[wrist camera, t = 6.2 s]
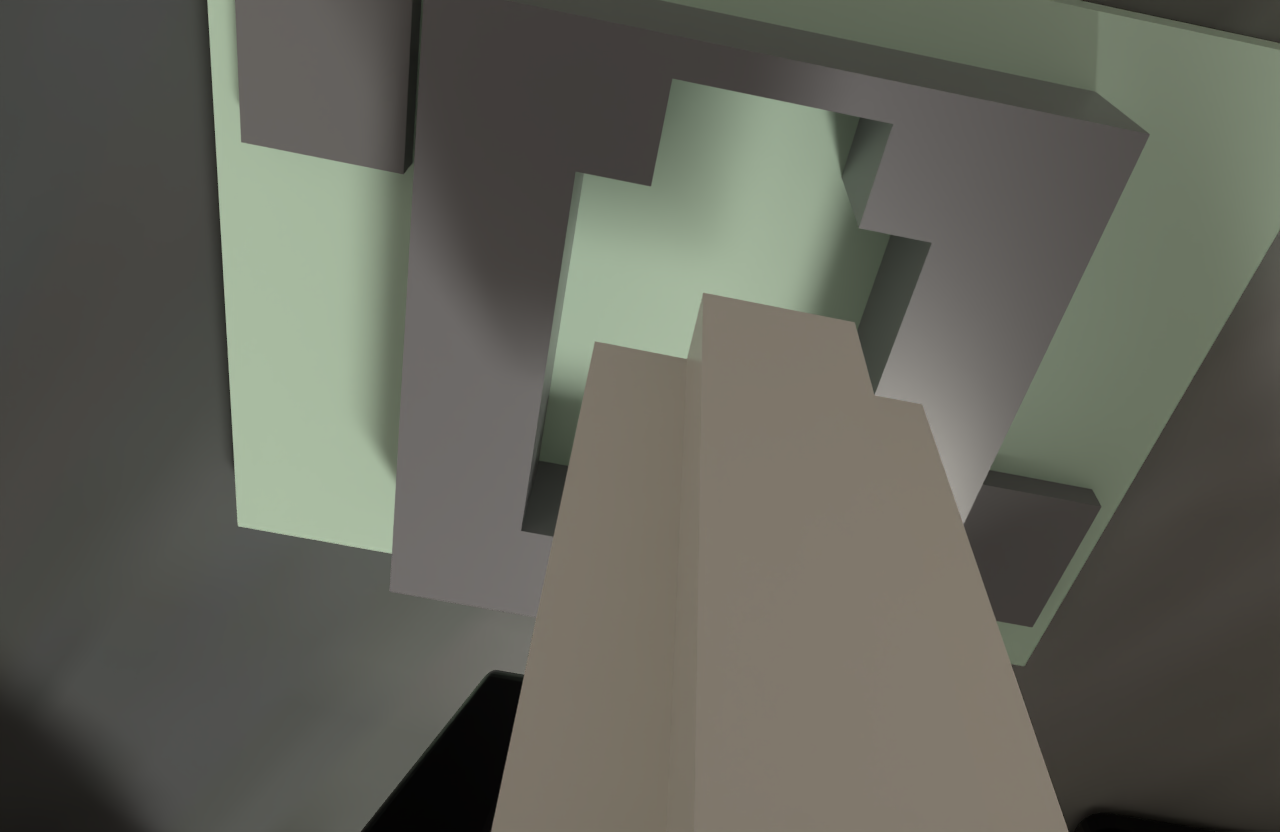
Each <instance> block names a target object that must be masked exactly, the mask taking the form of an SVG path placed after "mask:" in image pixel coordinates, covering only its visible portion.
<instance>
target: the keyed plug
mask: <svg viewBox="0 0 1280 832" xmlns="http://www.w3.org/2000/svg"><path fill="white" fill-rule="evenodd" d="M491 832H1068V829H1067V826H1066V823H1065V820H1064V817H1063V814H1062V811H1061V808H1060V805H1059V802H1058V799H1057V797H1056V794H1055V791H1054V788H1053V785H1052V782H1051V779H1050V776H1049V773H1048V770H1047V767H1046V764H1045V762H1044V759H1043V756H1042V753H1041V750H1040V747H1039V744H1038V741H1037V738H1036V735H1035V732H1034V729H1033V726H1032V724H1031V721H1030V718H1029V715H1028V712H1027V709H1026V706H1025V703H1024V700H1023V697H1022V694H1021V691H1020V689H1019V686H1018V683H1017V680H1016V677H1015V674H1014V671H1013V668H1012V665H1011V662H1010V659H1009V656H1008V654H1007V651H1006V648H1005V645H1004V642H1003V639H1002V636H1001V633H1000V630H999V627H998V624H997V621H996V619H995V616H994V613H993V610H992V607H991V604H990V601H989V598H988V595H987V592H986V589H985V586H984V583H983V581H982V578H981V575H980V572H979V569H978V566H977V563H976V560H975V557H974V554H973V551H972V548H971V546H970V543H969V540H968V537H967V534H966V531H965V528H964V525H963V522H962V519H961V516H960V513H959V511H958V508H957V505H956V502H955V499H954V496H953V493H952V490H951V487H950V484H949V481H948V478H947V476H946V473H945V470H944V467H943V464H942V461H941V458H940V455H939V452H938V449H937V446H936V443H935V440H934V438H933V435H932V432H931V429H930V426H929V423H928V420H927V417H926V414H925V411H924V408H923V405H922V404H917V403H912V402H907V401H902V400H896V399H891V398H886V397H881V396H876V395H874V392H873V388H872V384H871V381H870V377H869V373H868V370H867V366H866V362H865V358H864V355H863V351H862V347H861V343H860V340H859V336H858V332H857V329H856V325H855V322H851V321H845V320H840V319H835V318H830V317H825V316H820V315H815V314H810V313H805V312H800V311H795V310H790V309H784V308H779V307H774V306H769V305H764V304H759V303H754V302H749V301H744V300H739V299H734V298H729V297H723V296H718V295H713V294H708V293H703V295H702V299H701V303H700V308H699V312H698V316H697V320H696V324H695V328H694V332H693V336H692V340H691V344H690V348H689V352H688V357H687V359H684V358H679V357H674V356H669V355H663V354H658V353H653V352H648V351H643V350H638V349H632V348H627V347H622V346H617V345H612V344H607V343H601V342H596V341H595V343H594V348H593V353H592V357H591V362H590V367H589V371H588V376H587V381H586V386H585V390H584V395H583V400H582V405H581V409H580V414H579V419H578V423H577V428H576V433H575V438H574V442H573V447H572V452H571V456H570V461H569V466H568V471H567V475H566V480H565V485H564V490H563V494H562V499H561V504H560V508H559V513H558V518H557V523H556V527H555V532H554V537H553V541H552V546H551V551H550V556H549V560H548V565H547V570H546V575H545V579H544V584H543V589H542V593H541V598H540V603H539V608H538V612H537V617H536V622H535V626H534V631H533V636H532V641H531V645H530V650H529V655H528V660H527V664H526V669H525V674H524V678H523V683H522V688H521V693H520V697H519V702H518V707H517V711H516V716H515V721H514V726H513V730H512V735H511V740H510V745H509V749H508V754H507V759H506V763H505V768H504V773H503V778H502V782H501V787H500V792H499V796H498V801H497V806H496V811H495V815H494V820H493V825H492V830H491Z"/></svg>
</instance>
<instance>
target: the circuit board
mask: <svg viewBox="0 0 1280 832" xmlns="http://www.w3.org/2000/svg"><path fill="white" fill-rule="evenodd" d="M661 1H666V2H671V3H676V4H680V5H685V6H690V7H695V8H699V9H704V10H709V11H714V12H718V13H723V14H728V15H733V16H737V17H742V18H747V19H752V20H756V21H761V22H766V23H771V24H776V25H780V26H785V27H790V28H795V29H799V30H804V31H809V32H814V33H818V34H823V35H828V36H833V37H837V38H842V39H847V40H852V41H857V42H861V43H866V44H871V45H876V46H880V47H885V48H890V49H895V50H899V51H904V52H909V53H914V54H918V55H923V56H928V57H933V58H937V59H942V60H947V61H952V62H957V63H961V64H966V65H971V66H976V67H980V68H985V69H990V70H995V71H999V72H1004V73H1009V74H1014V75H1018V76H1023V77H1028V78H1033V79H1037V80H1042V81H1047V82H1052V83H1057V84H1061V85H1066V86H1071V87H1076V88H1080V89H1085V90H1090V91H1095V92H1097V93H1098V94H1099V95H1101V96H1102V97H1103V98H1104V99H1106V100H1107V101H1108V102H1110V103H1111V104H1112V105H1113V106H1115V107H1116V108H1117V109H1118V110H1120V111H1121V112H1122V113H1124V114H1125V115H1126V116H1127V117H1129V118H1130V119H1131V120H1132V121H1134V122H1135V123H1136V124H1138V125H1139V126H1140V127H1141V128H1143V129H1144V130H1145V131H1146V132H1148V133H1149V134H1150V136H1149V138H1148V140H1147V142H1146V144H1145V146H1144V148H1143V150H1142V152H1141V155H1140V157H1139V159H1138V161H1137V163H1136V165H1135V167H1134V169H1133V171H1132V173H1131V175H1130V178H1129V180H1128V182H1127V184H1126V186H1125V188H1124V190H1123V192H1122V194H1121V196H1120V198H1119V201H1118V203H1117V205H1116V207H1115V209H1114V211H1113V213H1112V215H1111V217H1110V219H1109V221H1108V223H1107V226H1106V228H1105V230H1104V232H1103V234H1102V236H1101V238H1100V240H1099V242H1098V244H1097V246H1096V249H1095V251H1094V253H1093V255H1092V257H1091V259H1090V261H1089V263H1088V265H1087V267H1086V269H1085V272H1084V274H1083V276H1082V278H1081V280H1080V282H1079V284H1078V286H1077V288H1076V290H1075V292H1074V295H1073V297H1072V299H1071V301H1070V303H1069V305H1068V307H1067V309H1066V311H1065V313H1064V315H1063V318H1062V320H1061V322H1060V324H1059V326H1058V328H1057V330H1056V332H1055V334H1054V336H1053V338H1052V340H1051V343H1050V345H1049V347H1048V349H1047V351H1046V353H1045V355H1044V357H1043V359H1042V361H1041V363H1040V366H1039V368H1038V370H1037V372H1036V374H1035V376H1034V378H1033V380H1032V382H1031V384H1030V386H1029V389H1028V391H1027V393H1026V395H1025V397H1024V399H1023V401H1022V403H1021V405H1020V407H1019V409H1018V412H1017V414H1016V416H1015V418H1014V420H1013V422H1012V424H1011V426H1010V428H1009V430H1008V432H1007V434H1006V437H1005V439H1004V441H1003V443H1002V445H1001V447H1000V449H999V451H998V453H997V455H996V457H995V460H994V462H993V464H992V466H991V468H990V470H989V472H988V474H987V476H986V478H985V480H984V483H983V485H982V487H981V489H980V491H979V493H978V495H977V497H976V499H975V501H974V503H973V506H972V508H971V510H970V512H969V514H968V516H967V518H966V520H965V522H964V524H963V525H964V528H965V531H966V534H967V537H968V540H969V543H970V546H971V548H972V551H973V554H974V557H975V560H976V563H977V566H978V569H979V572H980V575H981V578H982V581H983V583H984V586H985V589H986V592H987V595H988V598H989V601H990V604H991V607H992V610H993V613H994V616H995V619H996V621H997V624H998V627H999V630H1000V633H1001V636H1002V639H1003V642H1004V645H1005V648H1006V651H1007V654H1008V656H1009V659H1010V662H1011V664H1014V665H1019V666H1025V664H1026V663H1027V661H1028V659H1029V658H1030V656H1031V654H1032V652H1033V651H1034V649H1035V647H1036V646H1037V644H1038V642H1039V640H1040V639H1041V637H1042V635H1043V634H1044V632H1045V630H1046V629H1047V627H1048V625H1049V623H1050V622H1051V620H1052V618H1053V617H1054V615H1055V613H1056V611H1057V610H1058V608H1059V606H1060V605H1061V603H1062V601H1063V599H1064V598H1065V596H1066V594H1067V593H1068V591H1069V589H1070V588H1071V586H1072V584H1073V582H1074V581H1075V579H1076V577H1077V576H1078V574H1079V572H1080V570H1081V569H1082V567H1083V565H1084V564H1085V562H1086V560H1087V558H1088V557H1089V555H1090V553H1091V552H1092V550H1093V548H1094V546H1095V545H1096V543H1097V541H1098V540H1099V538H1100V536H1101V535H1102V533H1103V531H1104V529H1105V528H1106V526H1107V524H1108V523H1109V521H1110V519H1111V517H1112V516H1113V514H1114V512H1115V511H1116V509H1117V507H1118V505H1119V504H1120V502H1121V500H1122V499H1123V497H1124V495H1125V494H1126V492H1127V490H1128V488H1129V487H1130V485H1131V483H1132V482H1133V480H1134V478H1135V476H1136V475H1137V473H1138V471H1139V470H1140V468H1141V466H1142V464H1143V463H1144V461H1145V459H1146V458H1147V456H1148V454H1149V453H1150V451H1151V449H1152V447H1153V446H1154V444H1155V442H1156V441H1157V439H1158V437H1159V435H1160V434H1161V432H1162V430H1163V429H1164V427H1165V425H1166V423H1167V422H1168V420H1169V418H1170V417H1171V415H1172V413H1173V411H1174V410H1175V408H1176V406H1177V405H1178V403H1179V401H1180V400H1181V398H1182V396H1183V394H1184V393H1185V391H1186V389H1187V388H1188V386H1189V384H1190V382H1191V381H1192V379H1193V377H1194V376H1195V374H1196V372H1197V370H1198V369H1199V367H1200V365H1201V364H1202V362H1203V360H1204V359H1205V357H1206V355H1207V353H1208V352H1209V350H1210V348H1211V347H1212V345H1213V343H1214V341H1215V340H1216V338H1217V336H1218V335H1219V333H1220V331H1221V329H1222V328H1223V326H1224V324H1225V323H1226V321H1227V319H1228V317H1229V316H1230V314H1231V312H1232V311H1233V309H1234V307H1235V306H1236V304H1237V302H1238V300H1239V299H1240V297H1241V295H1242V294H1243V292H1244V290H1245V288H1246V287H1247V285H1248V283H1249V282H1250V280H1251V278H1252V276H1253V275H1254V273H1255V271H1256V270H1257V268H1258V266H1259V265H1260V263H1261V261H1262V259H1263V258H1264V256H1265V254H1266V253H1267V251H1268V249H1269V247H1270V246H1271V244H1272V242H1273V241H1274V239H1275V237H1276V235H1277V234H1278V232H1279V230H1280V43H1277V42H1272V41H1267V40H1263V39H1258V38H1253V37H1249V36H1244V35H1239V34H1235V33H1230V32H1225V31H1221V30H1216V29H1211V28H1207V27H1202V26H1197V25H1193V24H1188V23H1183V22H1179V21H1174V20H1169V19H1165V18H1160V17H1155V16H1151V15H1146V14H1141V13H1137V12H1132V11H1127V10H1123V9H1118V8H1114V7H1109V6H1104V5H1100V4H1095V3H1090V2H1086V1H1081V0H661ZM207 2H208V19H209V36H210V53H211V71H212V88H213V105H214V122H215V140H216V157H217V174H218V191H219V208H220V226H221V243H222V260H223V277H224V295H225V312H226V329H227V346H228V364H229V381H230V398H231V415H232V432H233V450H234V467H235V484H236V501H237V519H238V526H240V527H246V528H251V529H257V530H263V531H268V532H274V533H279V534H285V535H291V536H296V537H302V538H307V539H313V540H319V541H324V542H330V543H335V544H341V545H347V546H352V547H358V548H363V549H369V550H375V551H380V552H386V553H392V543H393V525H394V508H395V490H396V473H397V455H398V438H399V420H400V403H401V385H402V368H403V350H404V333H405V315H406V298H407V280H408V263H409V245H410V228H411V210H412V193H413V175H414V158H415V140H416V123H417V105H418V88H419V70H420V53H421V35H422V18H423V0H207ZM859 119H860V117H856V116H851V115H847V114H842V113H837V112H832V111H827V110H822V109H818V108H813V107H808V106H803V105H798V104H793V103H788V102H784V101H779V100H774V99H769V98H764V97H759V96H754V95H750V94H745V93H740V92H735V91H730V90H725V89H720V88H716V87H711V86H706V85H701V84H696V83H691V82H686V81H682V80H677V79H672V83H671V88H670V93H669V98H668V104H667V109H666V114H665V119H664V124H663V129H662V134H661V139H660V144H659V149H658V154H657V159H656V164H655V169H654V174H653V179H652V184H651V187H650V186H645V185H640V184H635V183H630V182H625V181H620V180H615V179H610V178H605V177H600V176H595V175H590V174H585V173H584V176H583V183H582V189H581V195H580V202H579V208H578V214H577V221H576V227H575V234H574V240H573V246H572V253H571V259H570V265H569V272H568V278H567V284H566V291H565V297H564V304H563V310H562V316H561V323H560V329H559V335H558V342H557V348H556V354H555V361H554V367H553V373H552V380H551V386H550V393H549V399H548V405H547V412H546V418H545V424H544V431H543V437H542V443H541V450H540V456H539V461H544V462H550V463H555V464H560V465H566V466H569V461H570V456H571V452H572V447H573V442H574V438H575V433H576V428H577V423H578V419H579V414H580V409H581V405H582V400H583V395H584V390H585V386H586V381H587V376H588V371H589V367H590V362H591V357H592V353H593V348H594V343H595V341H596V342H601V343H607V344H612V345H617V346H622V347H627V348H632V349H638V350H643V351H648V352H653V353H658V354H663V355H669V356H674V357H679V358H684V359H687V357H688V352H689V348H690V344H691V340H692V336H693V332H694V328H695V324H696V320H697V316H698V312H699V308H700V303H701V299H702V295H703V293H708V294H713V295H718V296H723V297H729V298H734V299H739V300H744V301H749V302H754V303H759V304H764V305H769V306H774V307H779V308H784V309H790V310H795V311H800V312H805V313H810V314H815V315H820V316H825V317H830V318H835V319H840V320H845V321H851V322H855V325H856V329H857V330H858V327H859V324H860V321H861V318H862V315H863V313H864V310H865V307H866V304H867V301H868V298H869V295H870V293H871V290H872V287H873V284H874V281H875V278H876V275H877V273H878V270H879V267H880V264H881V261H882V258H883V255H884V253H885V250H886V247H887V244H888V241H889V238H890V234H885V233H880V232H875V231H870V230H865V229H860V228H859V227H858V224H857V221H856V218H855V215H854V213H853V210H852V207H851V204H850V201H849V198H848V195H847V192H846V189H845V186H844V183H843V180H842V174H843V171H844V168H845V164H846V161H847V158H848V155H849V151H850V148H851V145H852V142H853V138H854V135H855V132H856V129H857V126H858V122H859Z"/></svg>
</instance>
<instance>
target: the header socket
mask: <svg viewBox="0 0 1280 832" xmlns="http://www.w3.org/2000/svg"><path fill="white" fill-rule="evenodd" d="M672 79H677V80H682V81H686V82H691V83H696V84H701V85H706V86H711V87H716V88H720V89H725V90H730V91H735V92H740V93H745V94H750V95H754V96H759V97H764V98H769V99H774V100H779V101H784V102H788V103H793V104H798V105H803V106H808V107H813V108H818V109H822V110H827V111H832V112H837V113H842V114H847V115H851V116H856V117H860V119H859V122H858V126H857V129H856V132H855V135H854V138H853V142H852V145H851V148H850V151H849V155H848V158H847V161H846V164H845V168H844V171H843V174H842V180H843V183H844V186H845V189H846V192H847V195H848V198H849V201H850V204H851V207H852V210H853V213H854V215H855V218H856V221H857V224H858V227H859V228H860V229H865V230H870V231H875V232H880V233H885V234H890V238H889V241H888V244H887V247H886V250H885V253H884V255H883V258H882V261H881V264H880V267H879V270H878V273H877V275H876V278H875V281H874V284H873V287H872V290H871V293H870V295H869V298H868V301H867V304H866V307H865V310H864V313H863V315H862V318H861V321H860V324H859V327H858V330H857V332H858V336H859V340H860V343H861V347H862V351H863V355H864V358H865V362H866V366H867V370H868V373H869V377H870V381H871V384H872V388H873V392H874V395H876V396H881V397H886V398H891V399H896V400H902V401H907V402H912V403H917V404H922V405H923V408H924V411H925V414H926V417H927V420H928V423H929V426H930V429H931V432H932V435H933V438H934V440H935V443H936V446H937V449H938V452H939V455H940V458H941V461H942V464H943V467H944V470H945V473H946V476H947V478H948V481H949V484H950V487H951V490H952V493H953V496H954V499H955V502H956V505H957V508H958V511H959V513H960V516H961V519H962V522H963V524H964V522H965V520H966V518H967V516H968V514H969V512H970V510H971V508H972V506H973V503H974V501H975V499H976V497H977V495H978V493H979V491H980V489H981V487H982V485H983V483H984V480H985V478H986V476H987V474H988V472H989V470H990V468H991V466H992V464H993V462H994V460H995V457H996V455H997V453H998V451H999V449H1000V447H1001V445H1002V443H1003V441H1004V439H1005V437H1006V434H1007V432H1008V430H1009V428H1010V426H1011V424H1012V422H1013V420H1014V418H1015V416H1016V414H1017V412H1018V409H1019V407H1020V405H1021V403H1022V401H1023V399H1024V397H1025V395H1026V393H1027V391H1028V389H1029V386H1030V384H1031V382H1032V380H1033V378H1034V376H1035V374H1036V372H1037V370H1038V368H1039V366H1040V363H1041V361H1042V359H1043V357H1044V355H1045V353H1046V351H1047V349H1048V347H1049V345H1050V343H1051V340H1052V338H1053V336H1054V334H1055V332H1056V330H1057V328H1058V326H1059V324H1060V322H1061V320H1062V318H1063V315H1064V313H1065V311H1066V309H1067V307H1068V305H1069V303H1070V301H1071V299H1072V297H1073V295H1074V292H1075V290H1076V288H1077V286H1078V284H1079V282H1080V280H1081V278H1082V276H1083V274H1084V272H1085V269H1086V267H1087V265H1088V263H1089V261H1090V259H1091V257H1092V255H1093V253H1094V251H1095V249H1096V246H1097V244H1098V242H1099V240H1100V238H1101V236H1102V234H1103V232H1104V230H1105V228H1106V226H1107V223H1108V221H1109V219H1110V217H1111V215H1112V213H1113V211H1114V209H1115V207H1116V205H1117V203H1118V201H1119V198H1120V196H1121V194H1122V192H1123V190H1124V188H1125V186H1126V184H1127V182H1128V180H1129V178H1130V175H1131V173H1132V171H1133V169H1134V167H1135V165H1136V163H1137V161H1138V159H1139V157H1140V155H1141V152H1142V150H1143V148H1144V146H1145V144H1146V142H1147V140H1148V138H1149V136H1150V134H1149V133H1148V132H1146V131H1145V130H1144V129H1143V128H1141V127H1140V126H1139V125H1138V124H1136V123H1135V122H1134V121H1132V120H1131V119H1130V118H1129V117H1127V116H1126V115H1125V114H1124V113H1122V112H1121V111H1120V110H1118V109H1117V108H1116V107H1115V106H1113V105H1112V104H1111V103H1110V102H1108V101H1107V100H1106V99H1104V98H1103V97H1102V96H1101V95H1099V94H1098V93H1097V92H1095V91H1090V90H1085V89H1080V88H1076V87H1071V86H1066V85H1061V84H1057V83H1052V82H1047V81H1042V80H1037V79H1033V78H1028V77H1023V76H1018V75H1014V74H1009V73H1004V72H999V71H995V70H990V69H985V68H980V67H976V66H971V65H966V64H961V63H957V62H952V61H947V60H942V59H937V58H933V57H928V56H923V55H918V54H914V53H909V52H904V51H899V50H895V49H890V48H885V47H880V46H876V45H871V44H866V43H861V42H857V41H852V40H847V39H842V38H837V37H833V36H828V35H823V34H818V33H814V32H809V31H804V30H799V29H795V28H790V27H785V26H780V25H776V24H771V23H766V22H761V21H756V20H752V19H747V18H742V17H737V16H733V15H728V14H723V13H718V12H714V11H709V10H704V9H699V8H695V7H690V6H685V5H680V4H676V3H671V2H666V1H661V0H423V18H422V35H421V53H420V70H419V88H418V105H417V123H416V140H415V158H414V175H413V193H412V210H411V228H410V245H409V263H408V280H407V298H406V315H405V333H404V350H403V368H402V385H401V403H400V420H399V438H398V455H397V473H396V490H395V508H394V525H393V543H392V560H391V578H390V592H395V593H400V594H406V595H412V596H417V597H423V598H429V599H434V600H440V601H446V602H451V603H457V604H463V605H468V606H474V607H480V608H485V609H491V610H497V611H502V612H508V613H514V614H519V615H525V616H531V617H537V612H538V608H539V603H540V598H541V593H542V589H543V584H544V579H545V575H546V570H547V565H548V560H549V556H550V551H551V546H552V541H553V537H554V532H555V527H556V523H557V518H558V513H559V508H560V504H561V499H562V494H563V490H564V485H565V480H566V475H567V471H568V466H566V465H560V464H555V463H550V462H544V461H539V456H540V450H541V443H542V437H543V431H544V424H545V418H546V412H547V405H548V399H549V393H550V386H551V380H552V373H553V367H554V361H555V354H556V348H557V342H558V335H559V329H560V323H561V316H562V310H563V304H564V297H565V291H566V284H567V278H568V272H569V265H570V259H571V253H572V246H573V240H574V234H575V227H576V221H577V214H578V208H579V202H580V195H581V189H582V183H583V176H584V173H585V174H590V175H595V176H600V177H605V178H610V179H615V180H620V181H625V182H630V183H635V184H640V185H645V186H650V187H651V184H652V179H653V174H654V169H655V164H656V159H657V154H658V149H659V144H660V139H661V134H662V129H663V124H664V119H665V114H666V109H667V104H668V98H669V93H670V88H671V83H672Z"/></svg>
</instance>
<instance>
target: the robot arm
mask: <svg viewBox="0 0 1280 832" xmlns="http://www.w3.org/2000/svg"><path fill="white" fill-rule="evenodd" d="M523 678H524V675H522V674H517V673H511V672H505V671H499V670H493V671H491V672H489V673H488V674H487V675H486V676H485V677H484V678H483V679H482V681H481V682H480V683H479V684H478V686H477V687H476V688H475V689H474V691H473V692H472V693H471V694H470V696H469V697H468V698H467V699H466V701H465V702H464V703H463V704H462V706H461V707H460V708H459V709H458V711H457V712H456V713H455V714H454V716H453V717H452V718H451V719H450V721H449V722H448V723H447V724H446V726H445V727H444V728H443V729H442V731H441V732H440V733H439V734H438V736H437V737H436V738H435V739H434V741H433V742H432V743H431V744H430V746H429V747H428V748H427V749H426V751H425V752H424V753H423V754H422V756H421V757H420V758H419V759H418V761H417V762H416V763H415V764H414V766H413V767H412V768H411V769H410V771H409V772H408V773H407V774H406V776H405V777H404V778H403V779H402V781H401V782H400V783H399V784H398V786H397V787H396V788H395V789H394V791H393V792H392V793H391V794H390V796H389V797H388V798H387V799H386V801H385V802H384V803H383V804H382V806H381V807H380V808H379V809H378V811H377V812H376V813H375V814H374V816H373V817H372V818H371V819H370V821H369V822H368V823H367V824H366V826H365V827H364V828H363V829H362V831H361V832H491V830H492V825H493V820H494V815H495V811H496V806H497V801H498V796H499V792H500V787H501V782H502V778H503V773H504V768H505V763H506V759H507V754H508V749H509V745H510V740H511V735H512V730H513V726H514V721H515V716H516V711H517V707H518V702H519V697H520V693H521V688H522V683H523ZM1074 832H1215V831H1210V830H1204V829H1198V828H1192V827H1186V826H1180V825H1175V824H1169V823H1163V822H1157V821H1151V820H1145V819H1139V818H1134V817H1128V816H1122V815H1116V814H1110V813H1099V814H1094V815H1091V816H1089V817H1087V818H1085V819H1084V820H1083V821H1082V822H1081V823H1080V824H1079V826H1078V827H1077V828H1076V830H1075V831H1074Z"/></svg>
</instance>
